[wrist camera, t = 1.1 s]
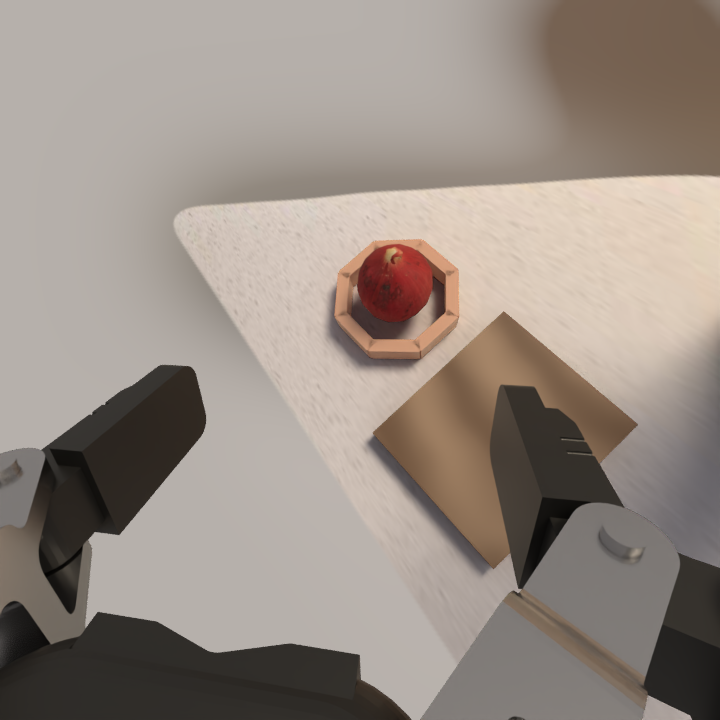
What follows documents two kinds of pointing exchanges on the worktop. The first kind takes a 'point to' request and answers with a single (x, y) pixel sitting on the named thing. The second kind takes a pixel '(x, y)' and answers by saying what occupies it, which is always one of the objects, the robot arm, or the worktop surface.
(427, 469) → the walnut board
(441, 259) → the ring holder
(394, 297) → the onion
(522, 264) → the worktop surface
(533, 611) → the robot arm
